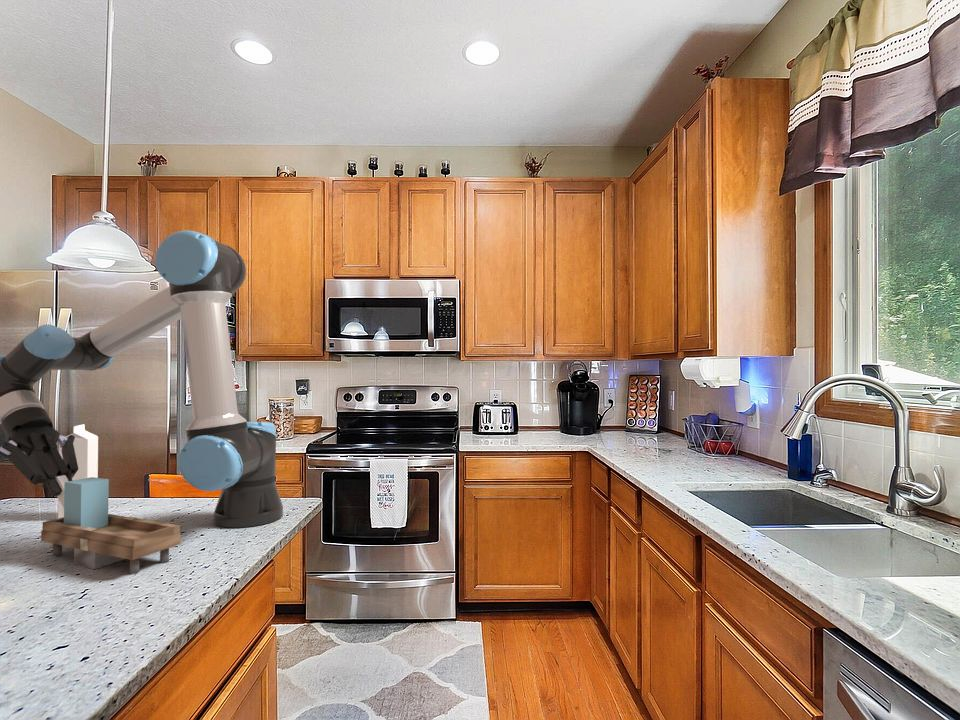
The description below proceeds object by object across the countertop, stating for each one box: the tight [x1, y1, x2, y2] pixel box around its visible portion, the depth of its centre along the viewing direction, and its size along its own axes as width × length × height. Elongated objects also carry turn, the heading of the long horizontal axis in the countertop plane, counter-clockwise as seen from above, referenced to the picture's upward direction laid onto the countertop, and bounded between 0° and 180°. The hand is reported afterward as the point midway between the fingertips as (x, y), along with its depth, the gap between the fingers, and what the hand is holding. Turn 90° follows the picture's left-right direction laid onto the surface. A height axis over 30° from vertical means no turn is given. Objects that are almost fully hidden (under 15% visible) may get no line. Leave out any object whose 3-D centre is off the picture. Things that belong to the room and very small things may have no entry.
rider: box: [64, 477, 110, 528], centre depth 102 cm, size 5×5×9 cm
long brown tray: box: [40, 513, 182, 575], centre depth 99 cm, size 26×9×7 cm, turn 67°
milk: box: [57, 423, 99, 519], centre depth 128 cm, size 6×6×22 cm
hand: (72, 505), depth 103 cm, fingers closed
